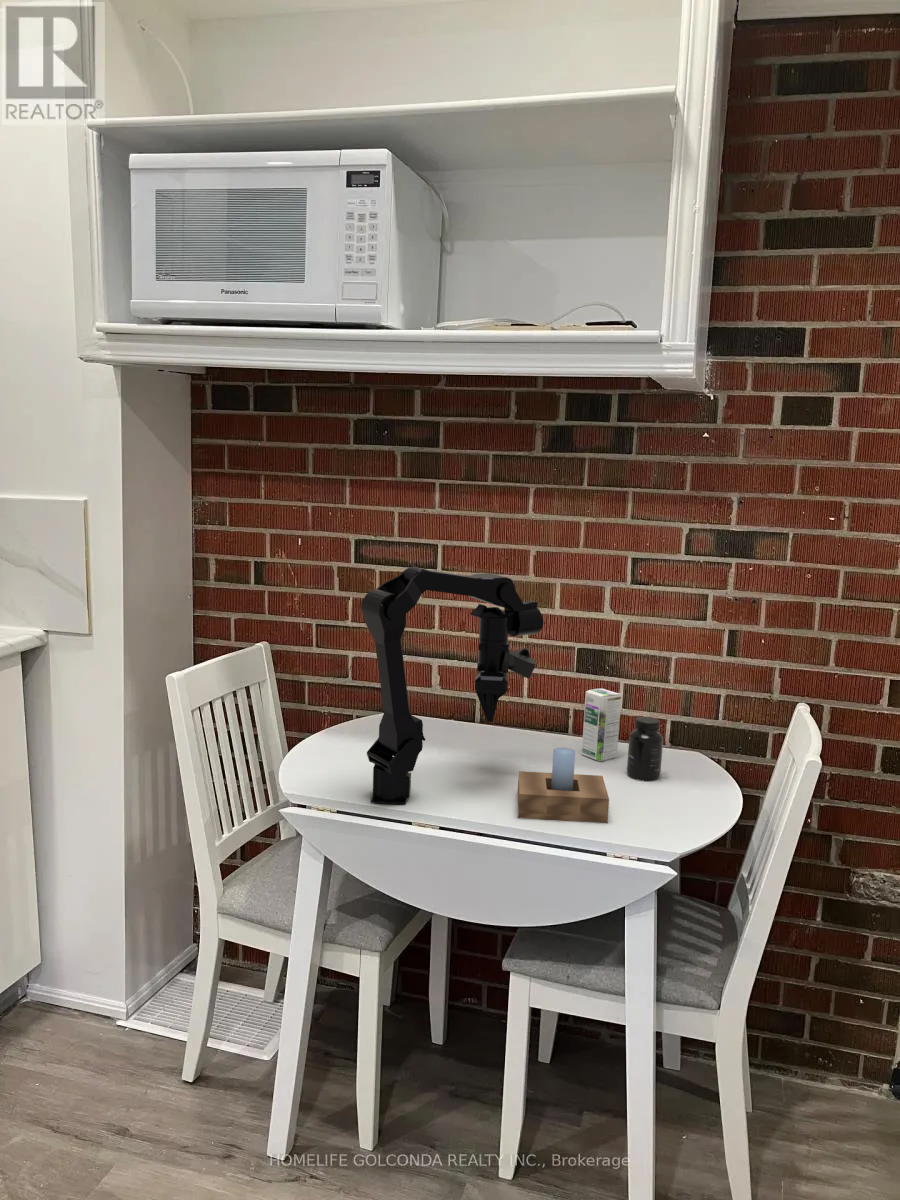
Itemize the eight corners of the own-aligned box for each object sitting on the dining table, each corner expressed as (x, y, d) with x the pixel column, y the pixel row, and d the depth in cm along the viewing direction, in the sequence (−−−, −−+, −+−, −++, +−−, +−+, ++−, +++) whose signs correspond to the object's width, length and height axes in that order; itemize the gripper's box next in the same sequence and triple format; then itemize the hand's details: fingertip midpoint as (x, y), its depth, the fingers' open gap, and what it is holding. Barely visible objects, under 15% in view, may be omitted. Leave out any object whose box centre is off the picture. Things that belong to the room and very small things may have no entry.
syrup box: (580, 754, 207) (584, 690, 205) (599, 750, 211) (603, 686, 208) (599, 762, 203) (603, 696, 200) (618, 757, 206) (622, 692, 204)
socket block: (518, 817, 171) (519, 794, 170) (517, 793, 183) (518, 771, 182) (607, 822, 170) (609, 798, 170) (601, 798, 182) (602, 775, 181)
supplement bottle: (619, 774, 195) (623, 718, 193) (638, 767, 200) (642, 712, 198) (648, 784, 191) (652, 726, 189) (666, 776, 195) (671, 720, 193)
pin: (551, 806, 175) (553, 753, 173) (550, 798, 179) (552, 746, 177) (572, 807, 174) (575, 755, 173) (571, 799, 178) (574, 748, 177)
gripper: (536, 650, 177) (532, 731, 179) (533, 630, 195) (529, 704, 198) (476, 647, 177) (473, 728, 180) (479, 628, 196) (476, 701, 198)
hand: (490, 715), depth 189 cm, fingers open, 9 cm apart
